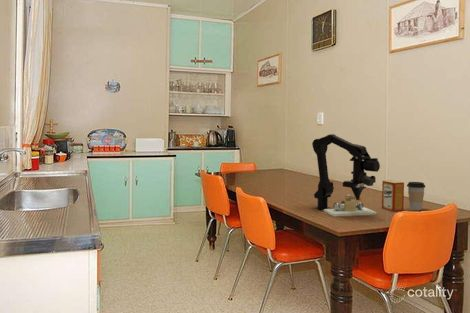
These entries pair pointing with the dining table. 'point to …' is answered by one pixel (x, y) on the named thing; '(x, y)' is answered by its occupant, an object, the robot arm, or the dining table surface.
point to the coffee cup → (415, 195)
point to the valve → (348, 205)
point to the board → (350, 212)
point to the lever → (353, 198)
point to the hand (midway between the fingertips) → (357, 199)
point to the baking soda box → (392, 195)
